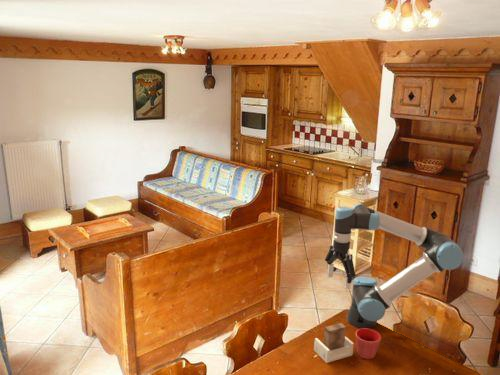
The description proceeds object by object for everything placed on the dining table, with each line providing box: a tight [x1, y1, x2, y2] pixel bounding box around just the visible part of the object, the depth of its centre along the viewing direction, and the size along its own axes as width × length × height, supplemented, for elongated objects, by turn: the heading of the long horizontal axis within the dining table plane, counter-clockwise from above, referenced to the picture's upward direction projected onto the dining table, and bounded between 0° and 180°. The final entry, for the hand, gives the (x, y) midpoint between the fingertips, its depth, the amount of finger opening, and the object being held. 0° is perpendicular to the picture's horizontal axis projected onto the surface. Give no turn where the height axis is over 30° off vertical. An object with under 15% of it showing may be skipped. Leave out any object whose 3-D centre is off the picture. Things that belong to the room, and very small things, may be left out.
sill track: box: [313, 335, 355, 364], centre depth 195 cm, size 14×10×6 cm
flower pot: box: [355, 328, 382, 360], centre depth 195 cm, size 11×11×10 cm
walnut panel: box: [322, 322, 347, 351], centre depth 194 cm, size 9×4×12 cm, turn 115°
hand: (338, 282), depth 205 cm, fingers open, 13 cm apart
